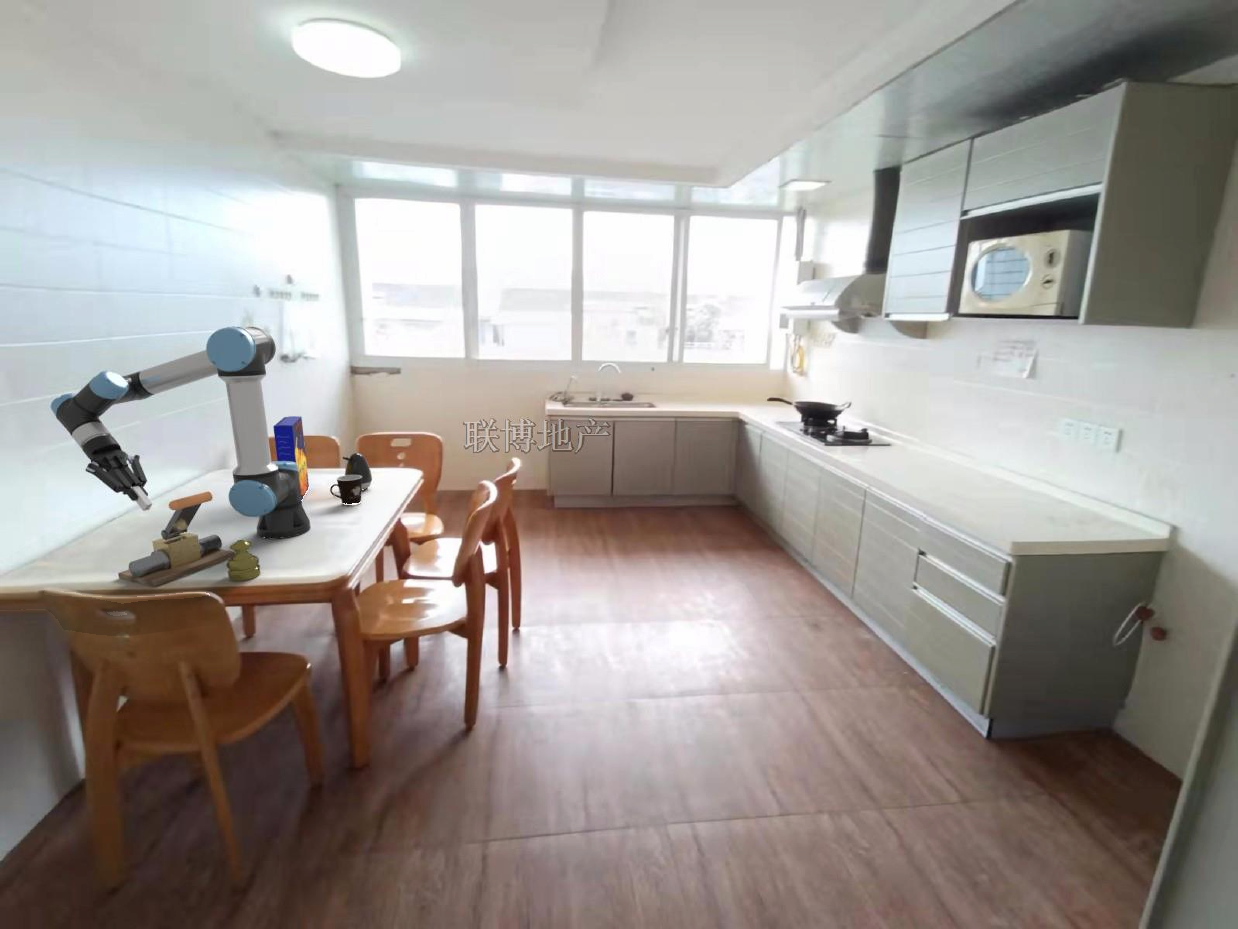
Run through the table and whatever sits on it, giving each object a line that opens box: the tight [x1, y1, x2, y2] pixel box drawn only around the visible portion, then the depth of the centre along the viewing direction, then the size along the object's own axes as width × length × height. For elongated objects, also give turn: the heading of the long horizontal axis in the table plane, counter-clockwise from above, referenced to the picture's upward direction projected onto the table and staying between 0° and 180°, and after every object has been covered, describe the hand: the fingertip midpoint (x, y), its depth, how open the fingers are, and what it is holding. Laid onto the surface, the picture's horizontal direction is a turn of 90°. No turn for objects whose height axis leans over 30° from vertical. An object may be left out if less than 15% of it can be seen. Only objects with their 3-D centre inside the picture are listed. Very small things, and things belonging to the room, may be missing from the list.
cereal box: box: [273, 415, 310, 500], centre depth 228 cm, size 22×6×30 cm, turn 19°
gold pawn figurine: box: [226, 539, 261, 582], centre depth 159 cm, size 7×7×10 cm
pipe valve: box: [117, 532, 236, 588], centre depth 164 cm, size 14×22×8 cm, turn 160°
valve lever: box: [160, 491, 213, 540], centre depth 160 cm, size 3×10×16 cm
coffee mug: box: [329, 474, 362, 504], centre depth 223 cm, size 12×9×10 cm
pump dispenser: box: [342, 452, 373, 490], centre depth 242 cm, size 10×10×15 cm
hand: (148, 507), depth 165 cm, fingers closed
